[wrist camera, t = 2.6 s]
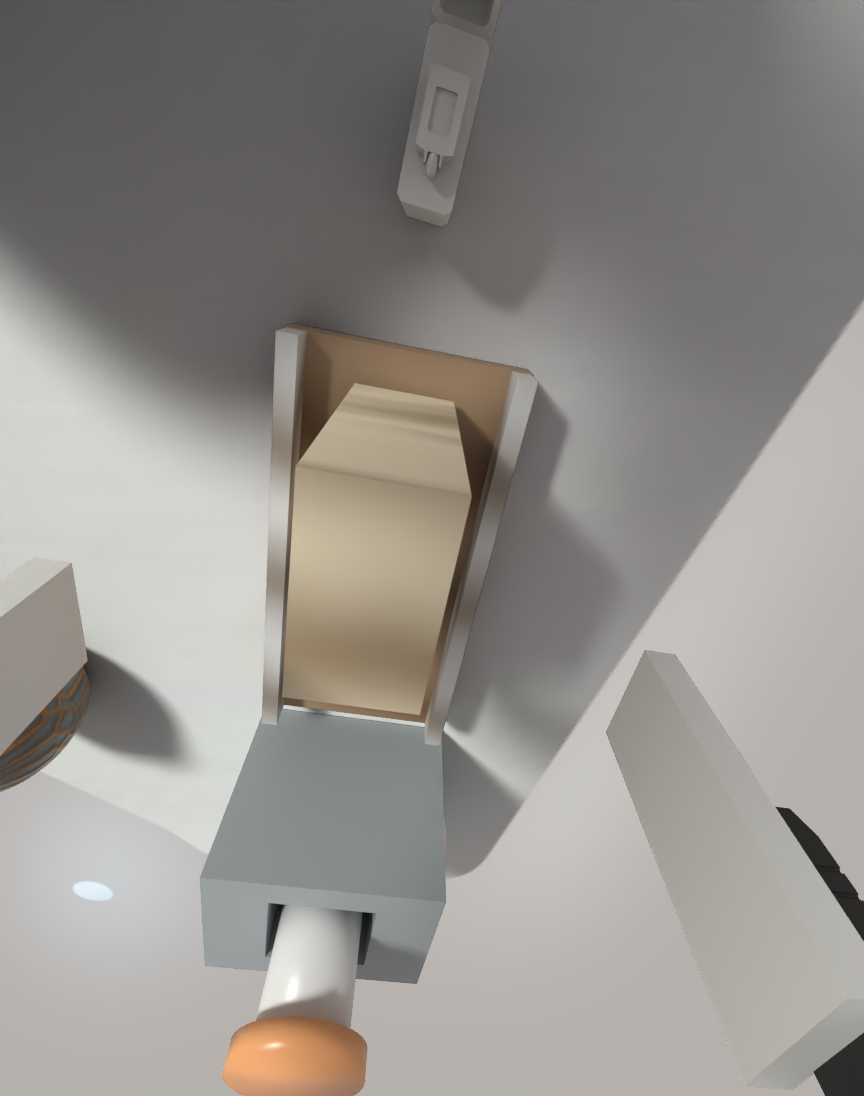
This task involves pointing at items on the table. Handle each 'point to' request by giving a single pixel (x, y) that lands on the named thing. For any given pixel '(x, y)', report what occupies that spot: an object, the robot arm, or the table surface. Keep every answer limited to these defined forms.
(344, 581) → the beige wooden block
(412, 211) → the lighter
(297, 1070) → the plunger
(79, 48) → the table surface
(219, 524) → the table surface
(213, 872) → the cabinet
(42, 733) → the vase
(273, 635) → the rail board
